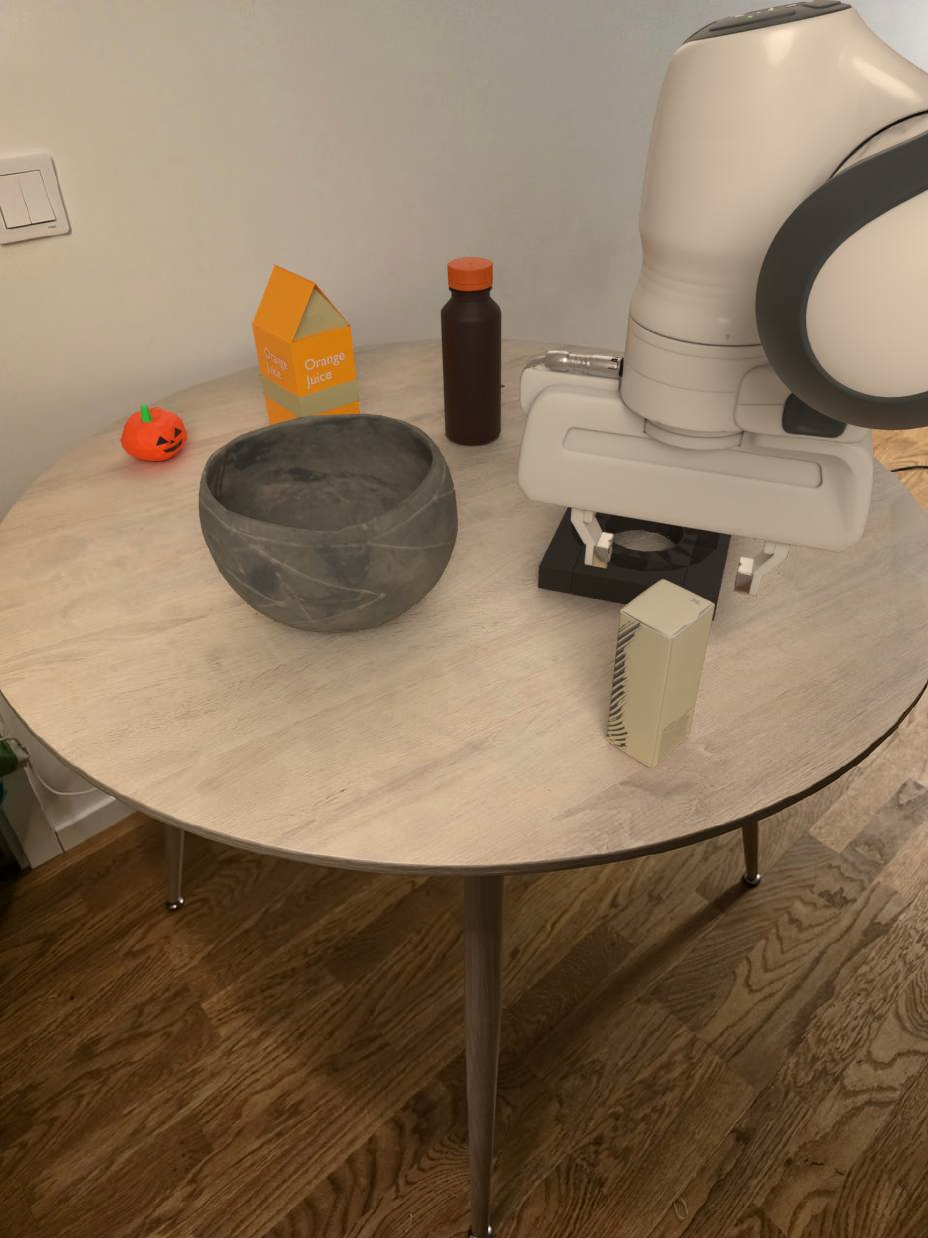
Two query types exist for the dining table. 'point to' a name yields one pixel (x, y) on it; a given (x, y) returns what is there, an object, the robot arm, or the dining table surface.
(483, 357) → the bottle
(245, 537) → the bowl
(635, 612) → the box
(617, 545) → the pad
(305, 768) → the dining table surface
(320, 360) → the orange juice
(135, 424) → the pumpkin
